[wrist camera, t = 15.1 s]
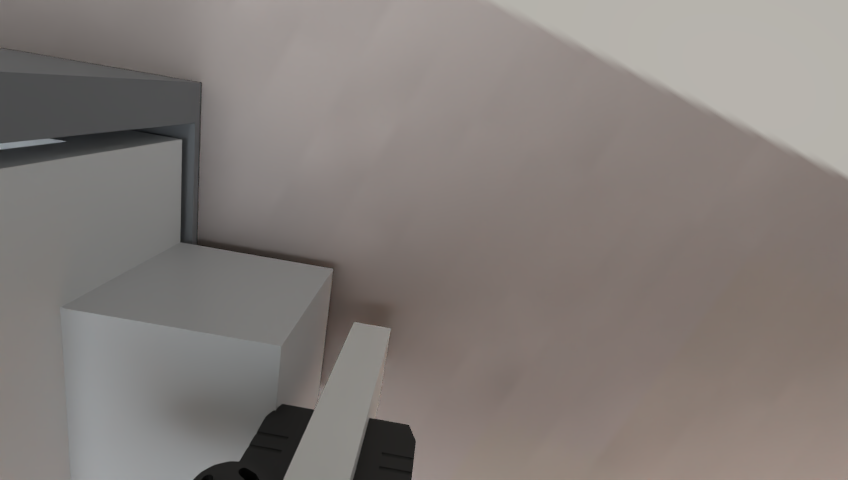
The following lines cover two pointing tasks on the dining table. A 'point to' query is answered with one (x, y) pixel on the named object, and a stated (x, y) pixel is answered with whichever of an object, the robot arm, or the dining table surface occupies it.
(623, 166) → the dining table surface
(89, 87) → the housing
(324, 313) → the drawer
